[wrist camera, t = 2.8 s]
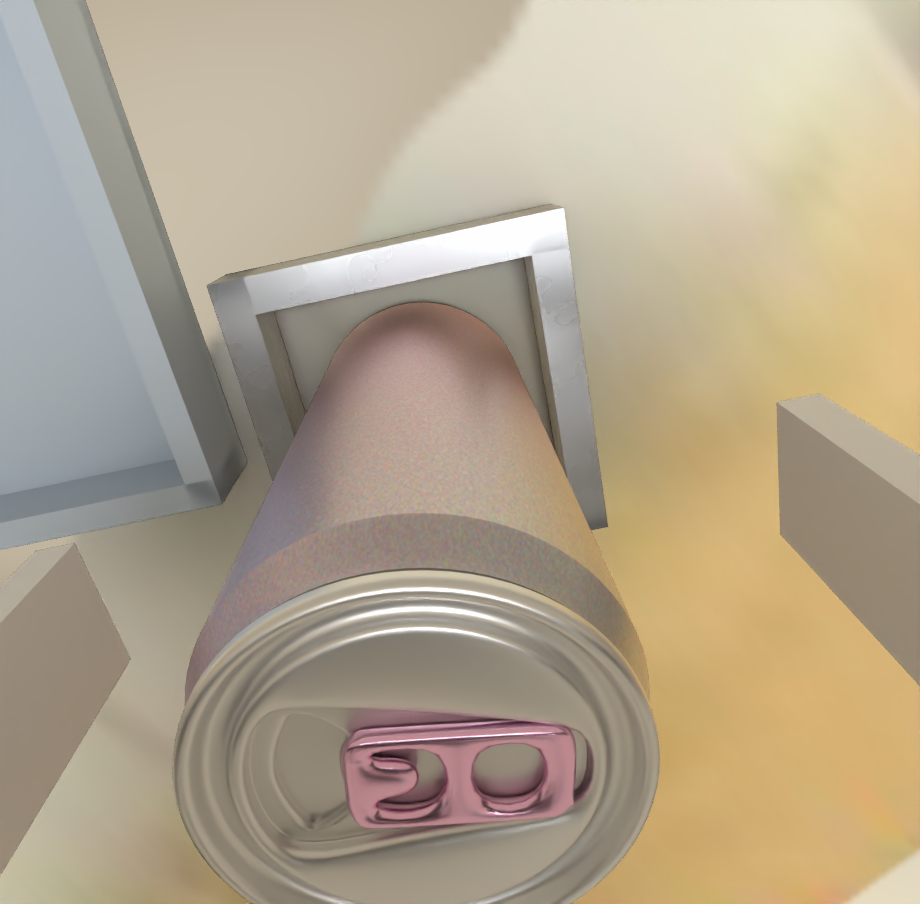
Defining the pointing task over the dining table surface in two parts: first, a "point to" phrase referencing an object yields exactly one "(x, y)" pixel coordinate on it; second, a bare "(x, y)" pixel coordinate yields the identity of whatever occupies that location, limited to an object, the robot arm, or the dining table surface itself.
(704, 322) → the dining table surface
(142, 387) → the tray
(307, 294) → the socket collar
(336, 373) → the beverage can
